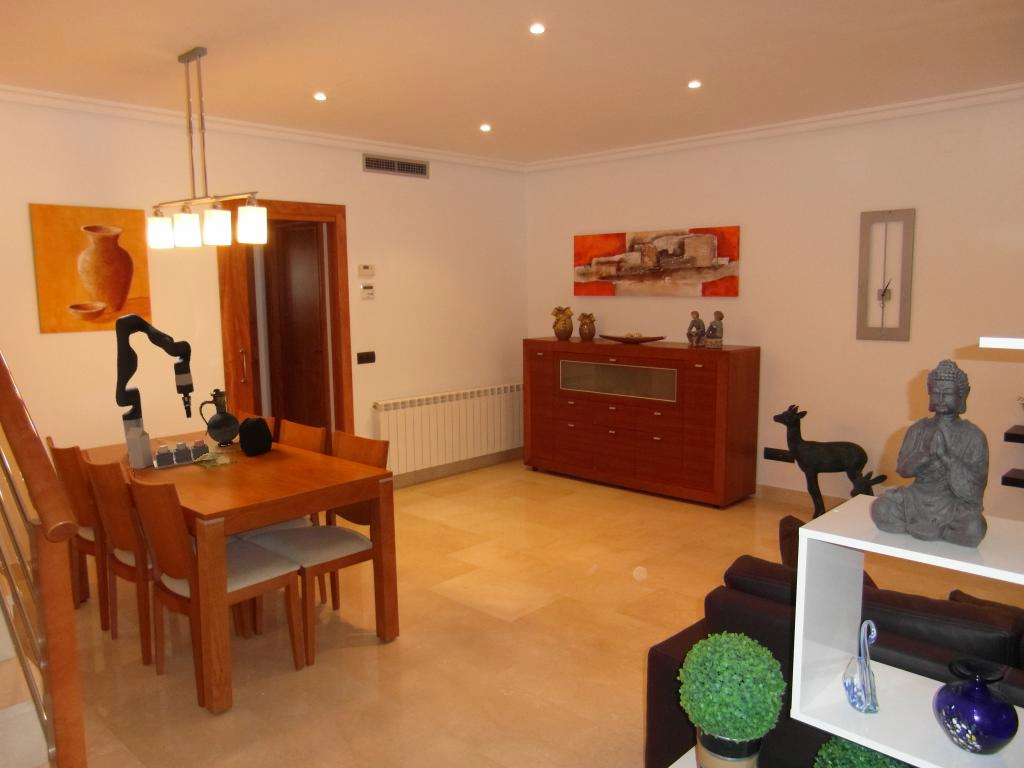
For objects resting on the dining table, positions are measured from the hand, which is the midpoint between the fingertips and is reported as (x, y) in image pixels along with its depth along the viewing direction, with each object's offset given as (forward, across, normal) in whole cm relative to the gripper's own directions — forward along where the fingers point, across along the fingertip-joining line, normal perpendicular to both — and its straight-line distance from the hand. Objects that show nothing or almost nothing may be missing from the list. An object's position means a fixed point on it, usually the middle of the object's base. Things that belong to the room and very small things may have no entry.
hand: (189, 416), depth 368 cm
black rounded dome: (+22, +4, +28) cm, 36 cm away
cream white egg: (+18, 0, -13) cm, 22 cm away
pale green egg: (+18, -1, -5) cm, 19 cm away
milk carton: (+22, -2, -24) cm, 32 cm away
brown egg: (+18, -1, +3) cm, 18 cm away
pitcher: (+22, -23, +13) cm, 34 cm away
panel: (+22, -1, -5) cm, 22 cm away
